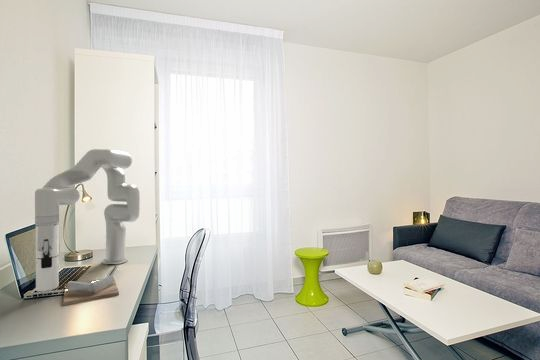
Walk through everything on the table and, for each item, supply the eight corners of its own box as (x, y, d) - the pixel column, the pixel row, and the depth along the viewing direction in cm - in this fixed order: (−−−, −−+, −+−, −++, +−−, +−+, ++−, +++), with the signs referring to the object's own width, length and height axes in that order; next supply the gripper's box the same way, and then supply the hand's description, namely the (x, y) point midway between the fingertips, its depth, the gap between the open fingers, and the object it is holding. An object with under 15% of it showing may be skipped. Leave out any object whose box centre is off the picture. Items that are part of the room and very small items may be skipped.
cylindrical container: (46, 292, 110) (45, 227, 109) (31, 290, 111) (30, 226, 110) (63, 285, 117) (63, 223, 116) (48, 283, 118) (48, 222, 117)
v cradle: (64, 287, 121) (65, 274, 121) (113, 279, 132) (113, 268, 132) (63, 305, 105) (63, 291, 105) (118, 294, 115) (119, 282, 115)
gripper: (37, 217, 118) (37, 260, 119) (32, 224, 104) (32, 273, 104) (59, 216, 122) (60, 257, 123) (58, 222, 108) (58, 269, 108)
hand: (47, 264), depth 114 cm, fingers closed on cylindrical container, 7 cm apart
